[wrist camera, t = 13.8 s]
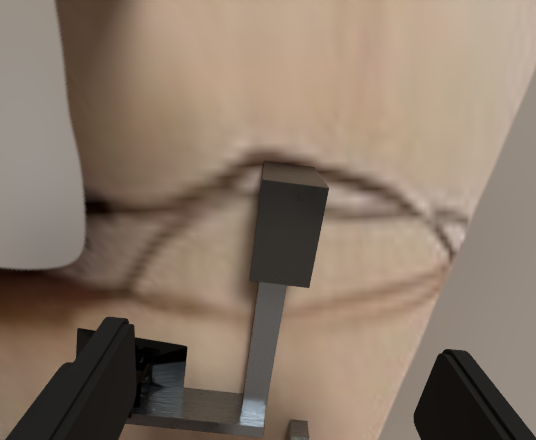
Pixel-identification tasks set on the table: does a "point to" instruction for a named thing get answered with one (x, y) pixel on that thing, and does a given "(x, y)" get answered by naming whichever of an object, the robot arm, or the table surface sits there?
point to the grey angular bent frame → (266, 310)
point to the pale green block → (298, 430)
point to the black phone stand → (150, 364)
